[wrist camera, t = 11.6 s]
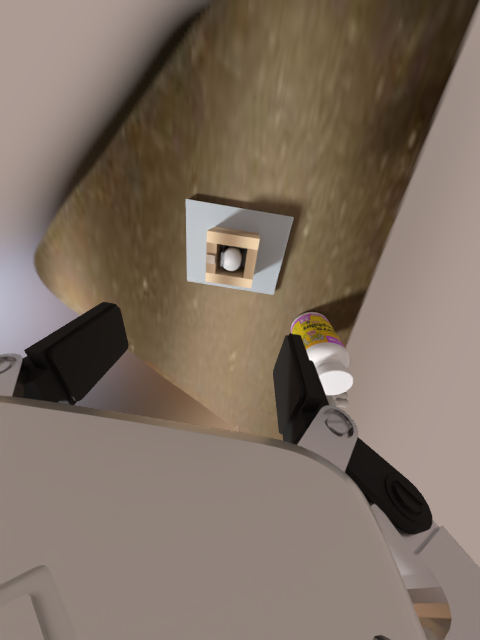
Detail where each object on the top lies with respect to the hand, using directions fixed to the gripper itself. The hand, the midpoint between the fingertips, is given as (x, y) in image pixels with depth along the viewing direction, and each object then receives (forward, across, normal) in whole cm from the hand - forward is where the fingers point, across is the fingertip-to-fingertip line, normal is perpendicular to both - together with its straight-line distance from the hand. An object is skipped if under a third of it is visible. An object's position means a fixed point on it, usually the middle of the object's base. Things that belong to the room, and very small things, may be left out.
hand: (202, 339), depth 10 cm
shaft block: (+20, 0, -1) cm, 20 cm away
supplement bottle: (+21, -15, +10) cm, 27 cm away
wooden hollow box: (+19, 0, -1) cm, 19 cm away
